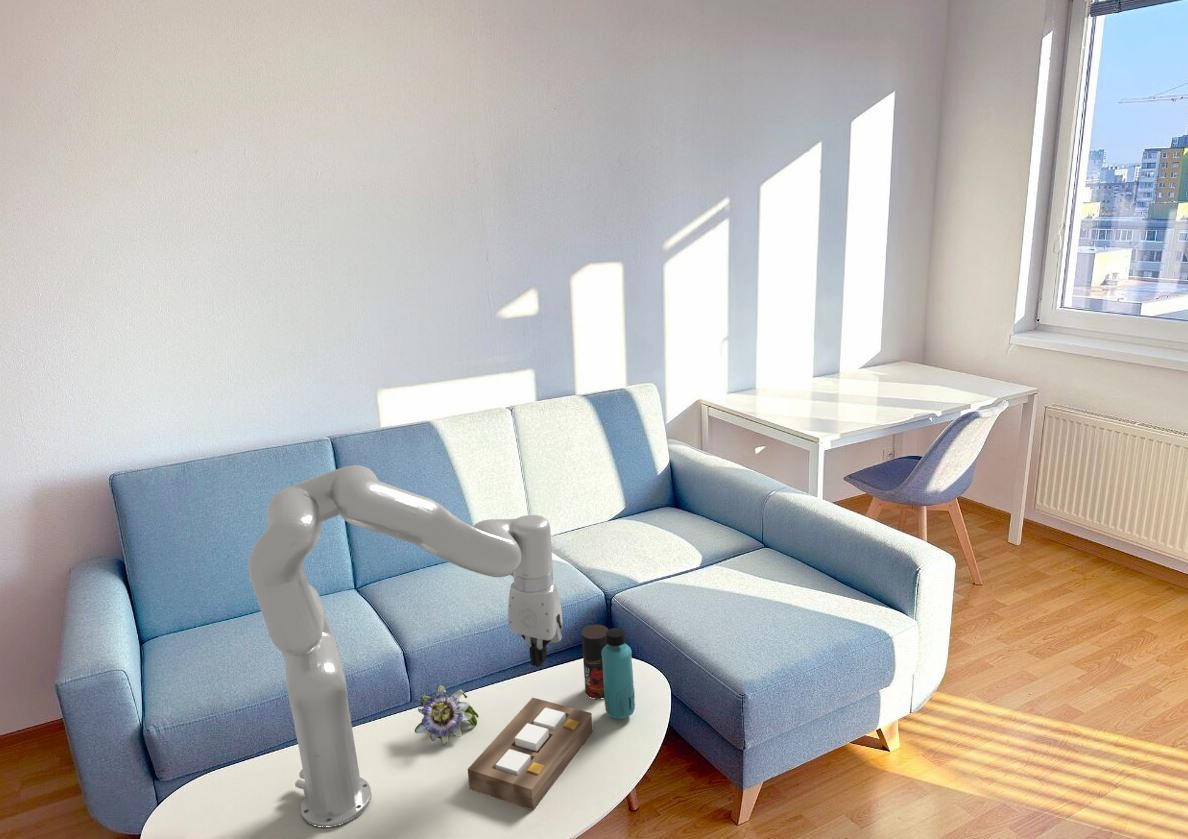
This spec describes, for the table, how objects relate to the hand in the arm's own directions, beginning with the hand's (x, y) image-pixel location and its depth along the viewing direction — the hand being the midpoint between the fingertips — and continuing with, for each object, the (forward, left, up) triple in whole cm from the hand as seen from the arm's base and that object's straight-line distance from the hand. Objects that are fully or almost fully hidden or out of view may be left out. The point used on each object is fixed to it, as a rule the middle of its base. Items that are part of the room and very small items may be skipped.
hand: (538, 662), depth 166 cm
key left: (+1, -13, -14) cm, 20 cm away
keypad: (+1, -6, -18) cm, 19 cm away
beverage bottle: (+11, +13, -18) cm, 25 cm away
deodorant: (+3, +19, -18) cm, 26 cm away
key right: (+1, +1, -15) cm, 15 cm away
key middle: (+1, -6, -14) cm, 15 cm away
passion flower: (-20, -5, -18) cm, 28 cm away
